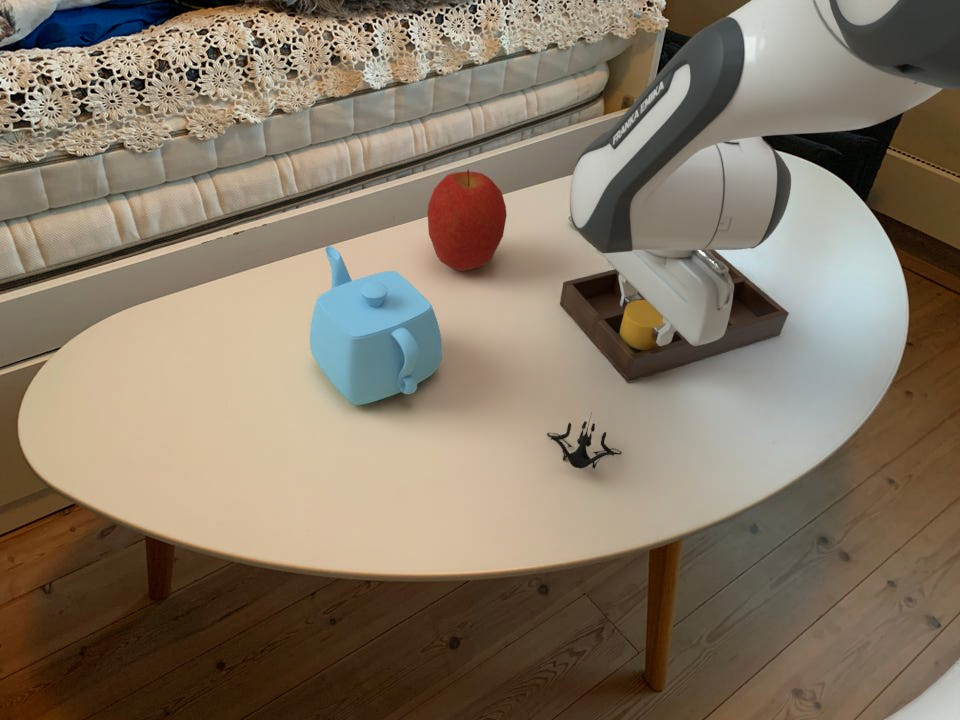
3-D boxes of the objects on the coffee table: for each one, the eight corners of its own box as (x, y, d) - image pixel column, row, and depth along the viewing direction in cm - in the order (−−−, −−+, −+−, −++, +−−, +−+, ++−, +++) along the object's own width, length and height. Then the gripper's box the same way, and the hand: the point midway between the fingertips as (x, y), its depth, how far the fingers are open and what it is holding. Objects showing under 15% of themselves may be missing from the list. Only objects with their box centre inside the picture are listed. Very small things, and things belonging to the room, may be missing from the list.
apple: (464, 296, 98) (470, 200, 89) (409, 262, 103) (409, 167, 93) (517, 264, 104) (528, 170, 95) (463, 233, 109) (468, 141, 99)
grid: (780, 335, 96) (789, 313, 94) (627, 382, 88) (633, 359, 86) (702, 267, 106) (709, 245, 104) (559, 304, 98) (563, 281, 96)
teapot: (377, 303, 96) (375, 224, 88) (461, 390, 85) (466, 308, 78) (285, 338, 90) (273, 256, 82) (362, 435, 80) (357, 351, 72)
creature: (550, 428, 84) (534, 470, 77) (559, 385, 81) (543, 425, 74) (622, 447, 82) (613, 491, 75) (633, 404, 79) (625, 447, 73)
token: (671, 343, 90) (678, 321, 87) (635, 354, 88) (641, 331, 85) (646, 318, 93) (652, 295, 90) (611, 327, 91) (616, 305, 89)
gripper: (762, 269, 74) (723, 374, 83) (641, 170, 88) (619, 270, 97) (710, 283, 72) (676, 390, 81) (593, 179, 85) (575, 281, 95)
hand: (644, 324), depth 89 cm, fingers closed on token, 5 cm apart
